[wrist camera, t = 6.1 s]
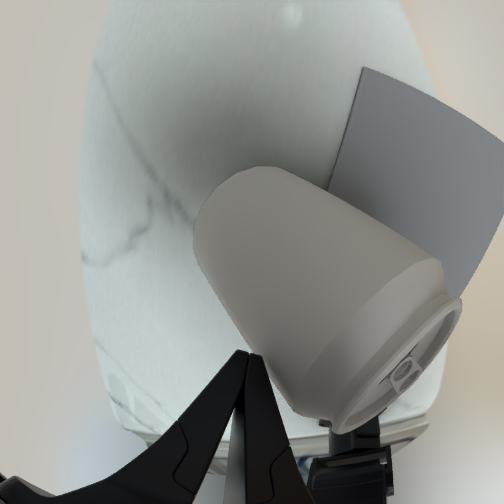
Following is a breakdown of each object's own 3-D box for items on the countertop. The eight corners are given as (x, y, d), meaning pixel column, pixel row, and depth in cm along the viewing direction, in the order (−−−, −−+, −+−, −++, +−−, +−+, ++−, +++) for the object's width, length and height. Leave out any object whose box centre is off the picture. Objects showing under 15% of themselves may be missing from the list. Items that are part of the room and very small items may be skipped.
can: (263, 133, 14) (491, 240, 5) (319, 218, 19) (465, 329, 10) (159, 233, 14) (279, 459, 5) (239, 296, 19) (352, 443, 10)
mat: (415, 353, 23) (416, 356, 23) (277, 325, 23) (276, 328, 23) (520, 157, 13) (523, 158, 13) (363, 67, 13) (364, 66, 13)
